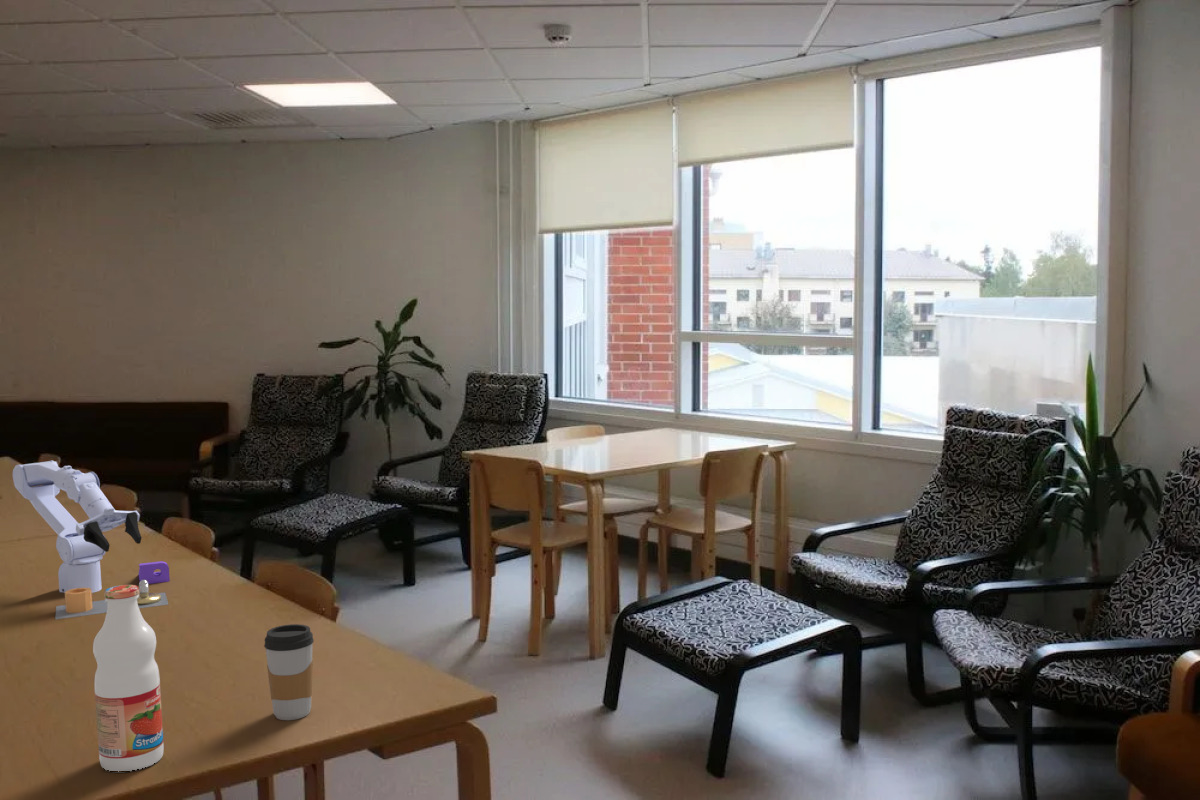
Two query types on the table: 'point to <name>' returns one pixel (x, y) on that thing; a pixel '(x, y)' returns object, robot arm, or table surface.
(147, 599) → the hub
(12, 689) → the table surface
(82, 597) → the sleeve
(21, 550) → the table surface
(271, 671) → the coffee cup
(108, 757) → the fruit juice
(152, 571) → the bracket
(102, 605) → the board
